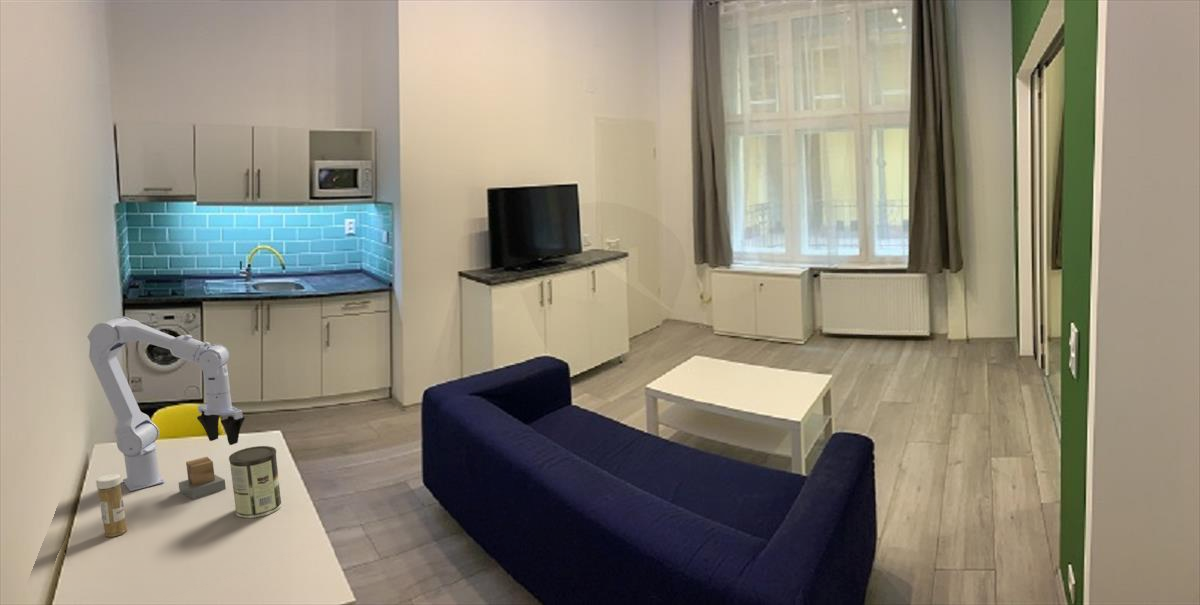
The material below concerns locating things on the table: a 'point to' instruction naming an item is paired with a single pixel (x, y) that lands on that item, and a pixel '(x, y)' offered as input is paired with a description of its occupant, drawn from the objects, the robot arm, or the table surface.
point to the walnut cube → (200, 471)
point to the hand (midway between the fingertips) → (223, 441)
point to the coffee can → (255, 481)
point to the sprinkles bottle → (111, 505)
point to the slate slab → (201, 488)
